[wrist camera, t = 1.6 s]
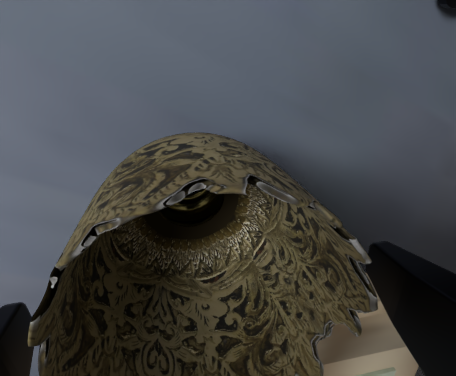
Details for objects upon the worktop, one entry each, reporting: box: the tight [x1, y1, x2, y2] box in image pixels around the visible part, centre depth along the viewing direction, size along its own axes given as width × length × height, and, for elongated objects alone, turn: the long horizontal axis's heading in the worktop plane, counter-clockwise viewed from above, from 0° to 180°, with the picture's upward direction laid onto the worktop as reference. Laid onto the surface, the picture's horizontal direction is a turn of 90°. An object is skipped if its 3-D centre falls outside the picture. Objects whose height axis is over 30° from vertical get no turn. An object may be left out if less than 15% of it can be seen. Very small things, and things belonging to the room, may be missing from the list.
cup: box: [28, 133, 378, 376], centre depth 11 cm, size 8×7×8 cm
